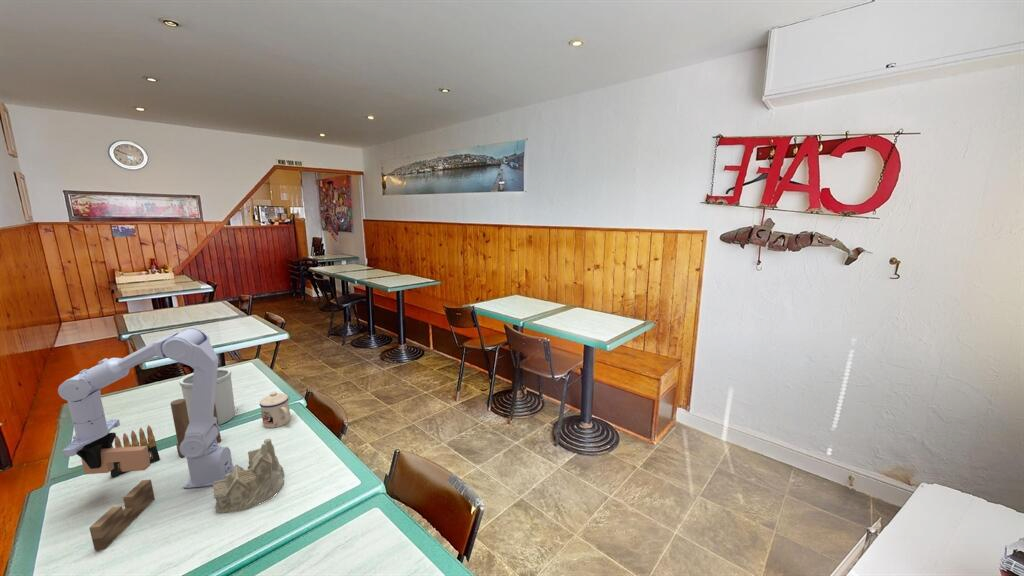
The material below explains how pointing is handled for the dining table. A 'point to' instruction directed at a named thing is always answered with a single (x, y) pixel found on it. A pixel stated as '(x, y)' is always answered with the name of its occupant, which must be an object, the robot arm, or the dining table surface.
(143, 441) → the ammunition clip
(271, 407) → the teacup with lid
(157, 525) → the dining table surface
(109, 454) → the cross plate
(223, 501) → the ceramic cottage
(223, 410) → the utensil holder
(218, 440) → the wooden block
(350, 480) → the dining table surface
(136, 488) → the slotted base plate
